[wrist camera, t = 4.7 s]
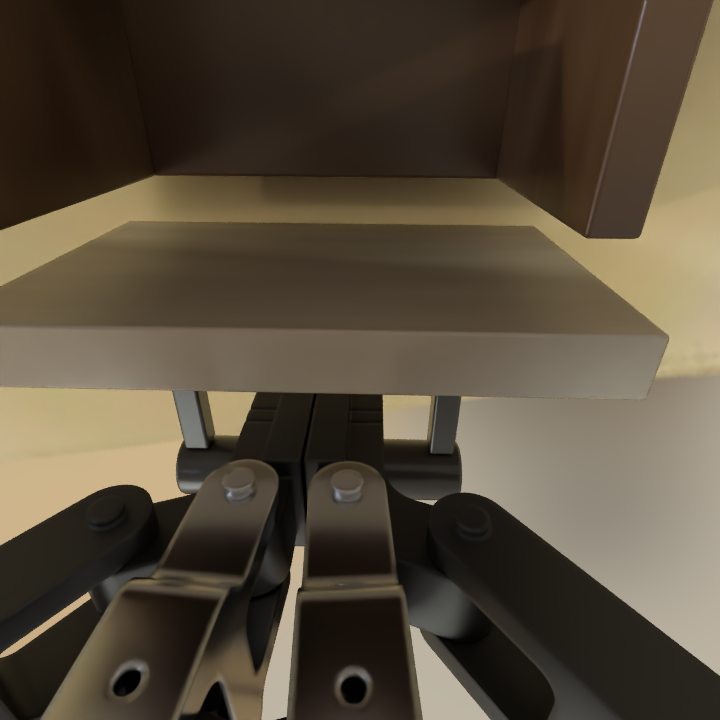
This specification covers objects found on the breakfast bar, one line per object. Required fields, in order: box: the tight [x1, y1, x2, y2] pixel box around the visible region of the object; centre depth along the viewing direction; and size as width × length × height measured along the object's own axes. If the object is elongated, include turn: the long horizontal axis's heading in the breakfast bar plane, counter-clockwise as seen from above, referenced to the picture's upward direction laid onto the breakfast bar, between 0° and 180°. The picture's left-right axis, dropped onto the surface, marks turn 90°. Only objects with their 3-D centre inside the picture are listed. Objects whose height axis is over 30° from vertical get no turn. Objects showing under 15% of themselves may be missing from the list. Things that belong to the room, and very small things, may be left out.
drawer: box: [0, 0, 713, 500], centre depth 8 cm, size 18×12×7 cm, turn 0°
